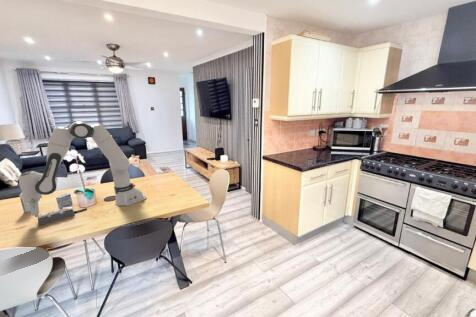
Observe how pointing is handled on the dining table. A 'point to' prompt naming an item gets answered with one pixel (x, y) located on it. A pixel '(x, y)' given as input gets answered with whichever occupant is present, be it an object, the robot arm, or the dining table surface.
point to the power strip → (57, 216)
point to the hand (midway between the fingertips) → (36, 216)
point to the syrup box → (24, 204)
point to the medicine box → (64, 201)
